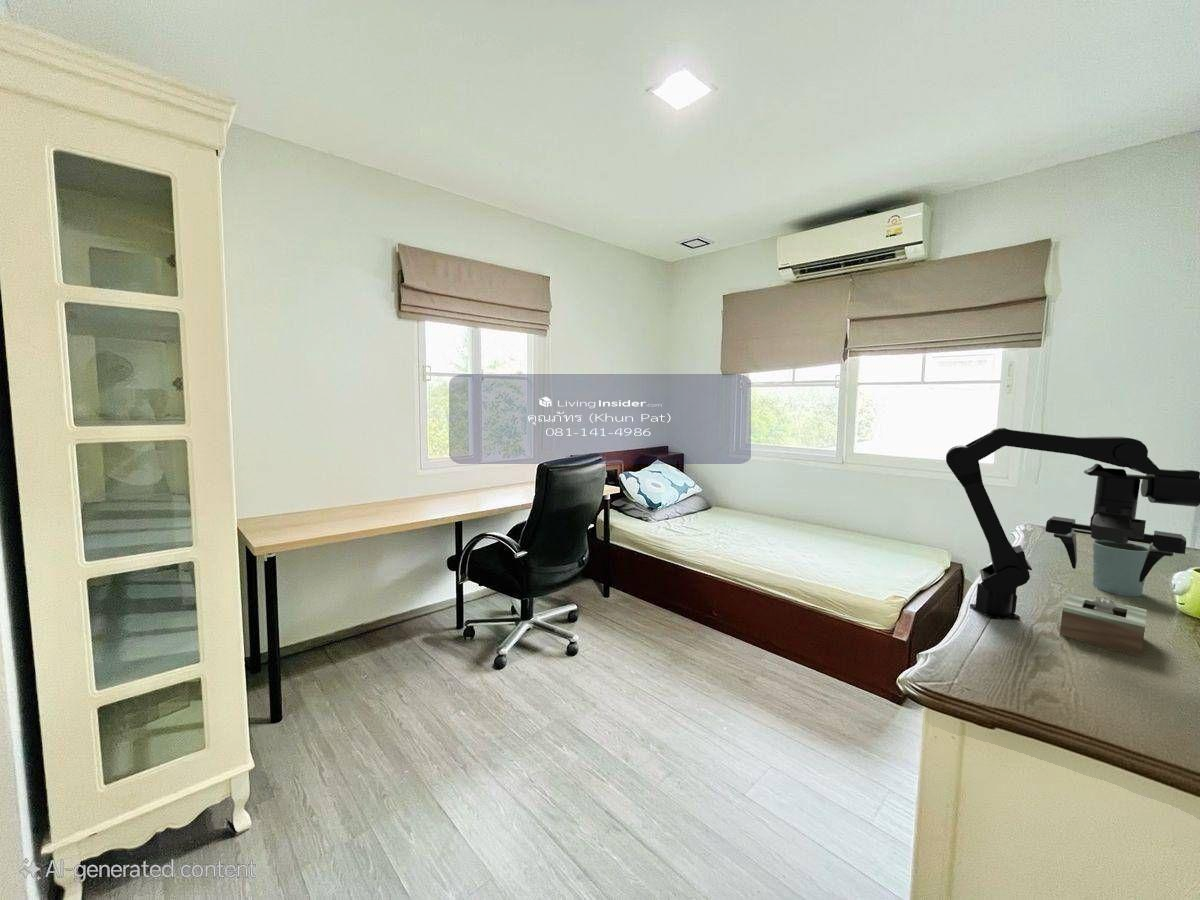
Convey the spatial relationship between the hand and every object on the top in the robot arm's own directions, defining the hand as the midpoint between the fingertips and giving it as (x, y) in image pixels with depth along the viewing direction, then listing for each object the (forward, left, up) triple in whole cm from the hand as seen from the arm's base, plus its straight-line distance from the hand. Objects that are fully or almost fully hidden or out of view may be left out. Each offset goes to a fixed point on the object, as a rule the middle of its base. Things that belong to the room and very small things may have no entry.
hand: (1106, 574), depth 95 cm
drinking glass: (+31, +25, -13) cm, 42 cm away
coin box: (0, 0, -13) cm, 13 cm away
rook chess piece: (0, 0, -13) cm, 13 cm away
